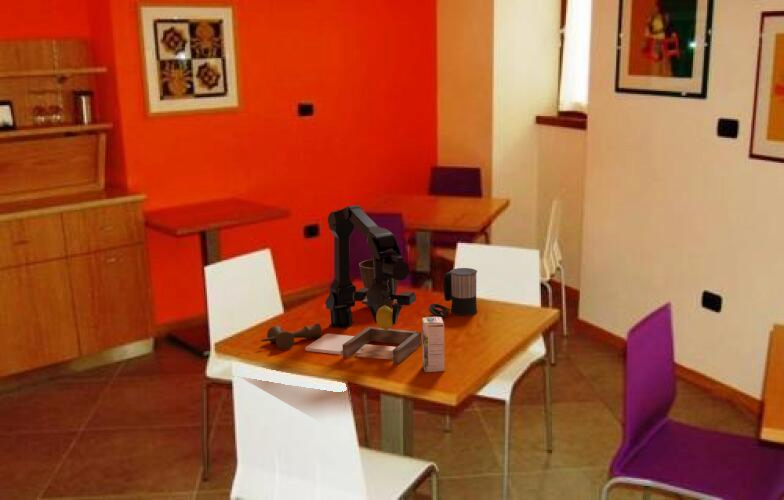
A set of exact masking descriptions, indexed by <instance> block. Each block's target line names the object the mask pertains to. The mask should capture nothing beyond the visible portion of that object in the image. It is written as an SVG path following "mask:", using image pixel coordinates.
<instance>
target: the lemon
mask: <svg viewBox="0 0 784 500" xmlns="http://www.w3.org/2000/svg"><path fill="white" fill-rule="evenodd" d="M376 321H377V323H376V324H377V326H378V328H382V329H384V330H385V331H386V330H388V329H391V328H392V326H393V308H392V307H390V308H389V307H387V306H386V305H384V306H383V307H381V308H379V309H378V311H377V314H376Z"/></svg>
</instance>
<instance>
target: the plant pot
mask: <svg viewBox="0 0 784 500" xmlns="http://www.w3.org/2000/svg"><path fill="white" fill-rule="evenodd" d="M358 267H359V271H360V276H361V281H362V285H363V288H370V287H371V286H372V279H373V278H374V265H373V258H372V259H366V260H363V261H361V262H359V264H358ZM398 287H399V281H398V280H396V279H393V288H395V292H394V294H397V290H398ZM392 304H394V300H384V301H383V303H382V304H380V305H378V310H379V308H381V307H383V306H384V305H386V306H387V307H389V308H392V306H391V305H392Z"/></svg>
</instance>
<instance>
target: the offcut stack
mask: <svg viewBox="0 0 784 500" xmlns="http://www.w3.org/2000/svg"><path fill="white" fill-rule="evenodd" d="M395 348H397V346H388V345H379V344H378V345H377V344H369V343H368V344H365V345H364V346H363V347H361V349H359V350H358V351H357V352H356V353H355V357H359V358H368V359H369V358H370V359H381V360H382V359H383V360H392V361H393V350H394V349H395Z"/></svg>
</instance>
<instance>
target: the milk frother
mask: <svg viewBox="0 0 784 500" xmlns="http://www.w3.org/2000/svg"><path fill="white" fill-rule="evenodd" d="M477 273H478V270H477V269H474V268H471V267H469V268H468V267H459V268H458V267H456V268H453V269H451V270H450V271H448V272H446V273H444V275H443V278H442V282H443V295H444V301H446V302H450V301H451V304H450V305H451V307H450V308H448V307H446V306H444V305H442V304H438V303H432V304H430V305H429V308H428V309H429V312H430V313H431V314H432V315H433V316H434V317H441V318H447V317H448V316H449V313H452V314H453V315H456V316H471V315H472V316H473V315H475V314H477V313H478V309H477V307H478V306H477ZM443 311H444V313H443Z"/></svg>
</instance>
